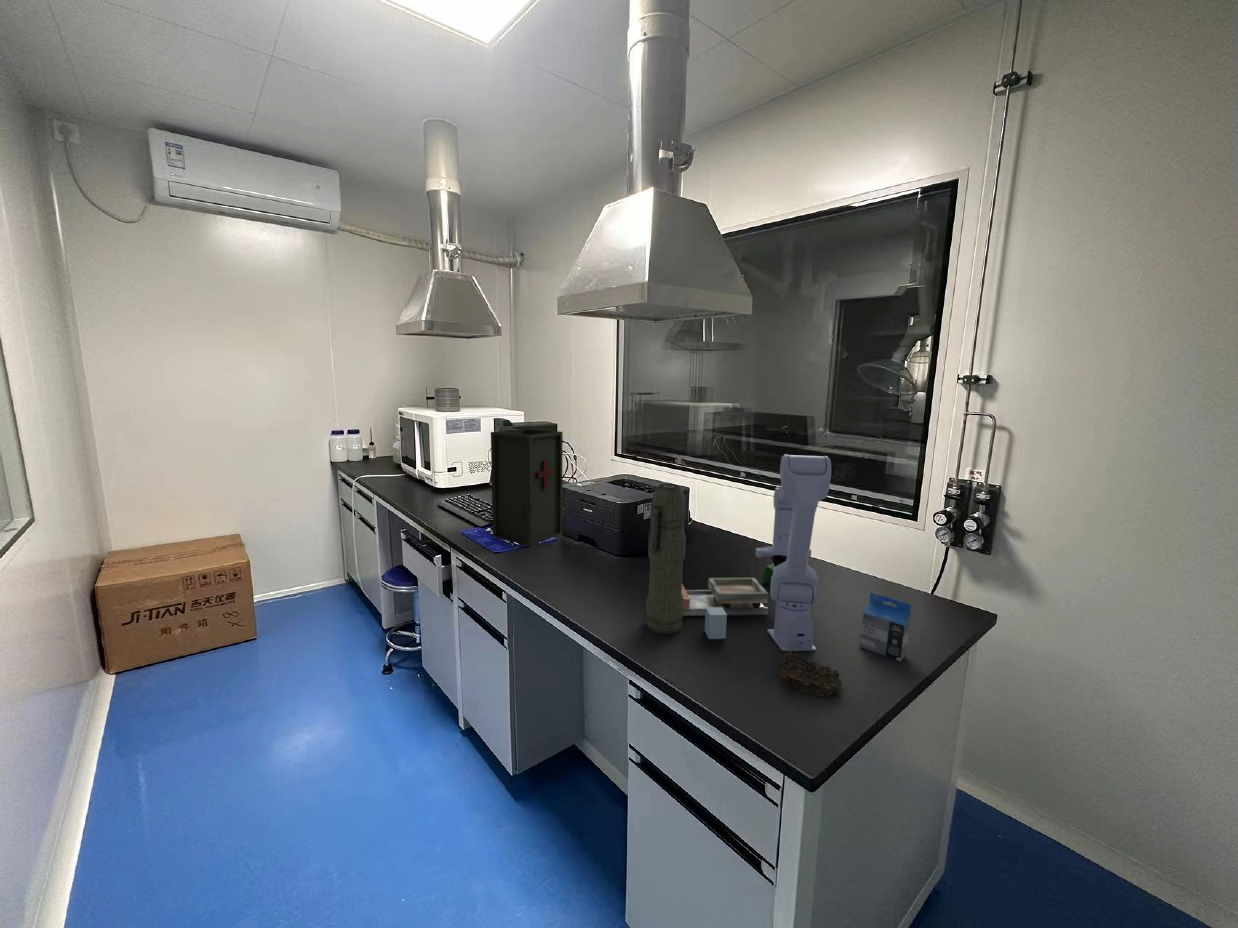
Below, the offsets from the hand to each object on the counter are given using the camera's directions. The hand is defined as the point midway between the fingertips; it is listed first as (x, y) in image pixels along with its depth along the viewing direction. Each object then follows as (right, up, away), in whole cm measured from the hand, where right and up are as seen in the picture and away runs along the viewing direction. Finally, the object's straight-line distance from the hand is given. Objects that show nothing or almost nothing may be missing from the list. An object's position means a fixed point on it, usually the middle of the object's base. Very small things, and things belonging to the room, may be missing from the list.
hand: (781, 581), depth 138 cm
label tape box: (+16, -11, -23) cm, 29 cm away
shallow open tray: (-12, -5, 0) cm, 13 cm away
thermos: (-33, -8, -12) cm, 36 cm away
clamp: (+6, -4, +16) cm, 18 cm away
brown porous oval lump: (-6, -13, -36) cm, 39 cm away
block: (-21, -9, -16) cm, 28 cm away
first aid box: (-78, +4, +57) cm, 97 cm away
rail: (-17, -6, 0) cm, 18 cm away
